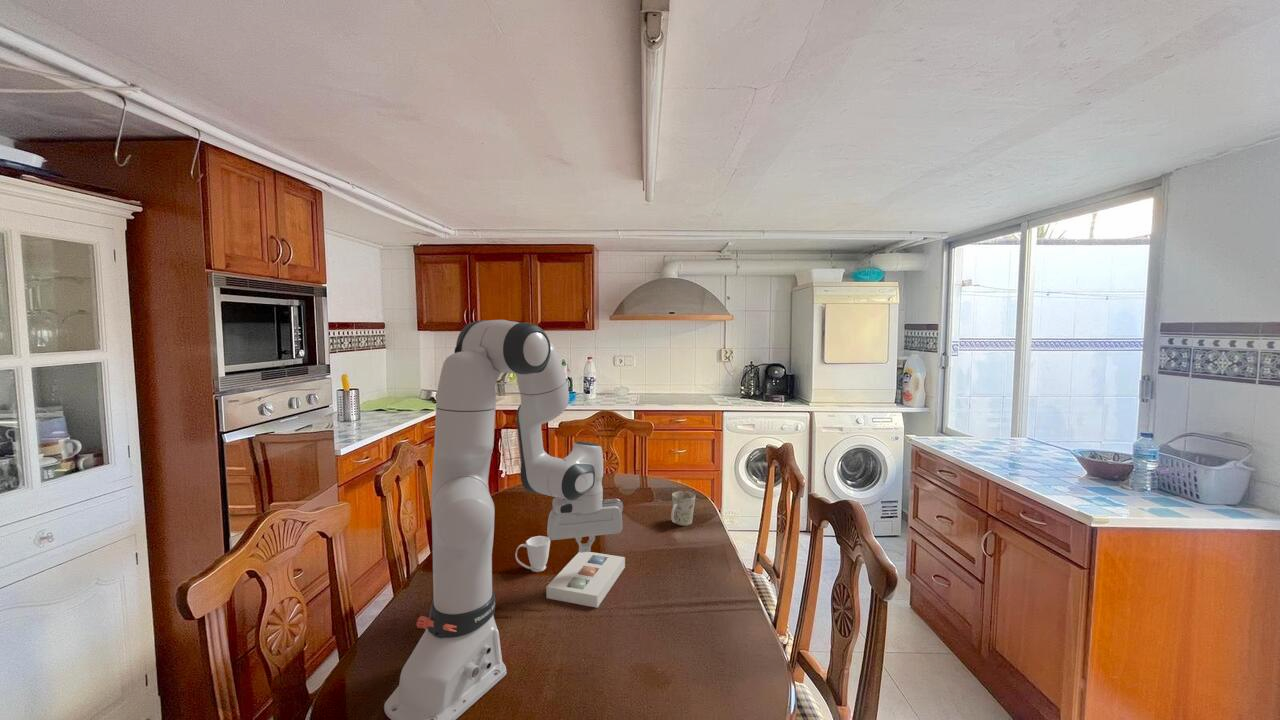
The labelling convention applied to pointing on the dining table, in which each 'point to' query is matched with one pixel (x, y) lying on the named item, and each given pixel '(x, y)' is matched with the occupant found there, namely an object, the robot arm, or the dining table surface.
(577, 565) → the button panel
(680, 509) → the mug
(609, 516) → the robot arm
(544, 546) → the cup
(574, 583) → the sage button
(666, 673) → the dining table surface
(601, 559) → the slate button
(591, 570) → the terracotta button
